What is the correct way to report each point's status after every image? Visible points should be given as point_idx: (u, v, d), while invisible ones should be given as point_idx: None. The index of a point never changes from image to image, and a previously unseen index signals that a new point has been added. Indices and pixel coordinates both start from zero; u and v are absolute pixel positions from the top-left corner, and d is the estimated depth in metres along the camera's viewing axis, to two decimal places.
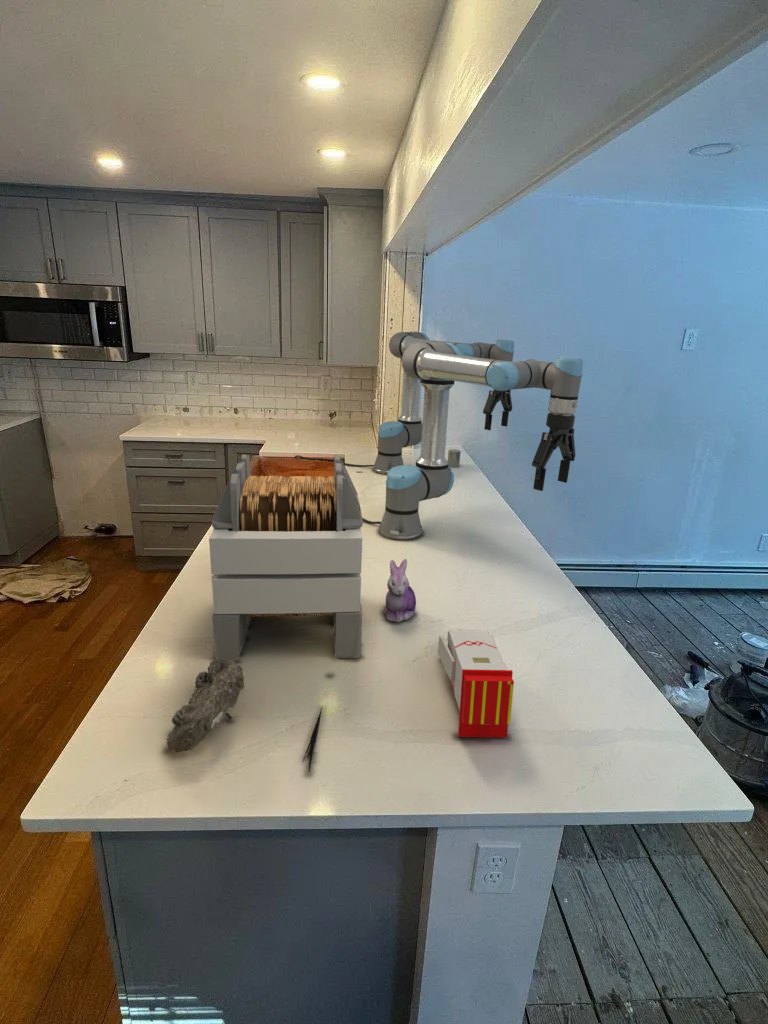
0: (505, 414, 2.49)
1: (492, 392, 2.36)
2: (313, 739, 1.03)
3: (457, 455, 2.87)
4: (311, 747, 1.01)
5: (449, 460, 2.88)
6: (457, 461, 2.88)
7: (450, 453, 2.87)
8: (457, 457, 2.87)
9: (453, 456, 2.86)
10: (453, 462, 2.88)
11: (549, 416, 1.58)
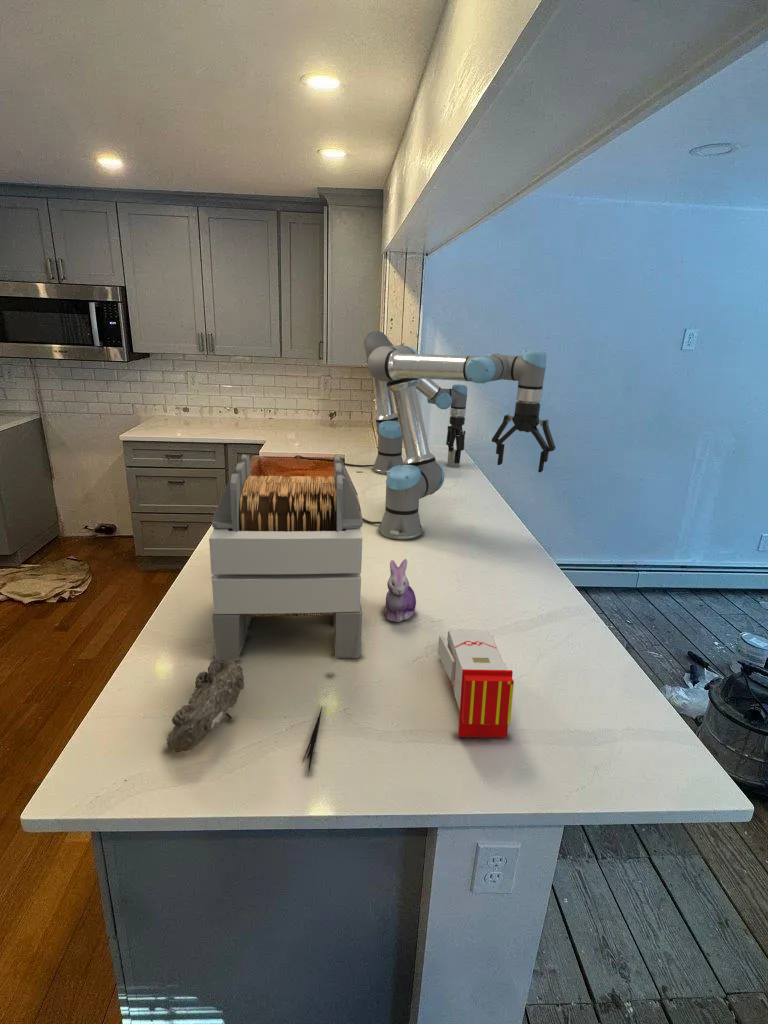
0: None
1: (464, 432, 2.80)
2: (313, 739, 1.03)
3: None
4: (311, 747, 1.01)
5: (449, 460, 2.88)
6: None
7: (450, 453, 2.87)
8: None
9: (453, 456, 2.86)
10: (453, 462, 2.88)
11: (536, 406, 1.74)
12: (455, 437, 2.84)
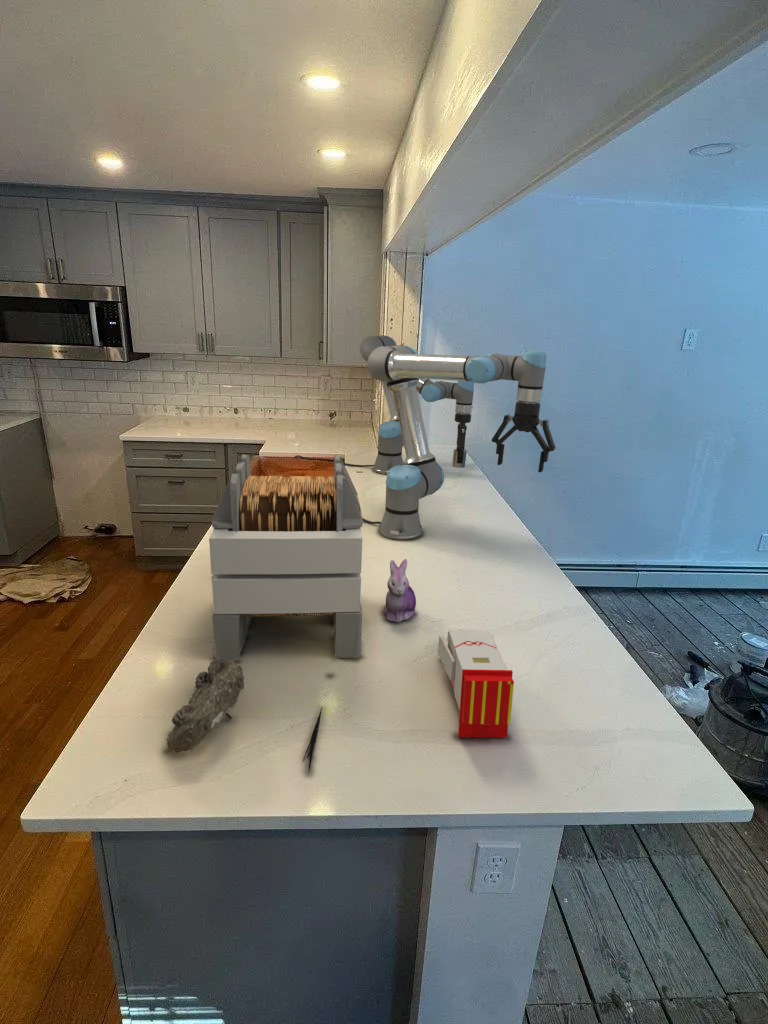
0: None
1: (464, 430, 2.60)
2: (313, 739, 1.03)
3: None
4: (311, 747, 1.01)
5: (453, 459, 2.71)
6: None
7: (454, 452, 2.69)
8: None
9: (456, 455, 2.68)
10: (456, 462, 2.69)
11: (536, 406, 1.74)
12: (459, 435, 2.65)
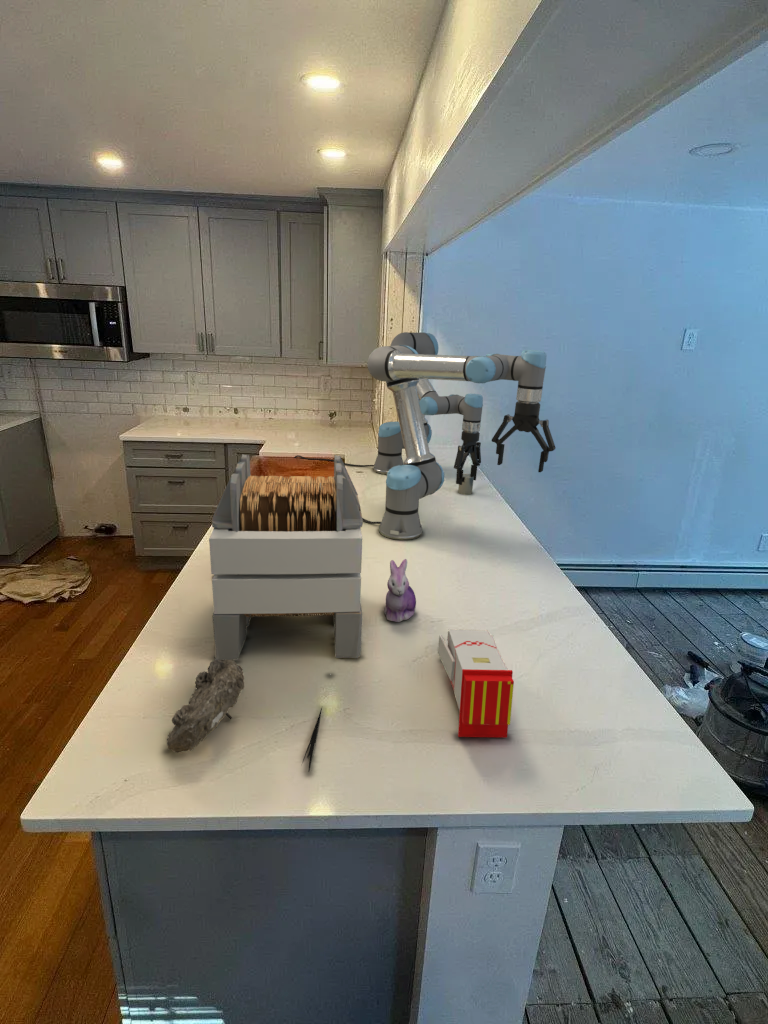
0: (473, 468, 2.48)
1: (461, 448, 2.36)
2: (313, 739, 1.03)
3: (462, 480, 2.44)
4: (311, 747, 1.01)
5: None
6: (462, 487, 2.45)
7: None
8: (462, 483, 2.45)
9: None
10: (459, 487, 2.47)
11: (536, 406, 1.74)
12: None
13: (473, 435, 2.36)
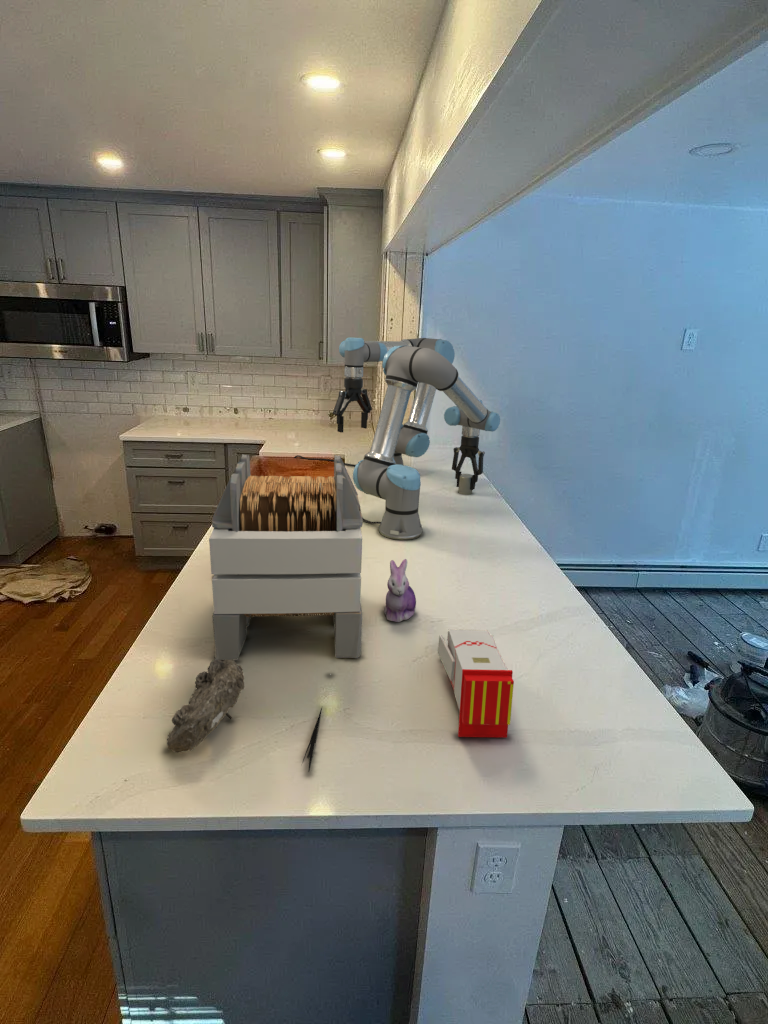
0: (364, 415, 2.38)
1: (341, 392, 2.25)
2: (313, 739, 1.03)
3: (462, 480, 2.44)
4: (311, 747, 1.01)
5: None
6: (462, 487, 2.45)
7: None
8: (462, 483, 2.45)
9: (459, 480, 2.46)
10: (459, 487, 2.47)
11: (475, 439, 2.37)
12: None
13: (354, 381, 2.25)
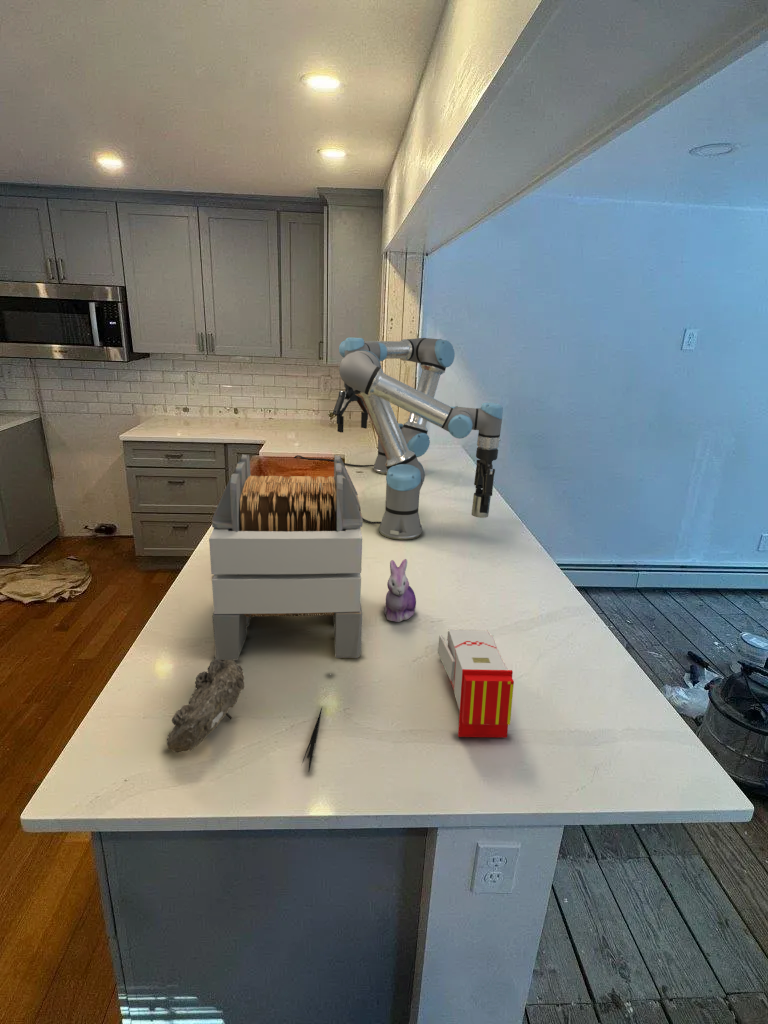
0: (364, 415, 2.38)
1: (341, 392, 2.25)
2: (313, 739, 1.03)
3: (473, 498, 2.06)
4: (311, 747, 1.01)
5: None
6: (472, 507, 2.07)
7: None
8: (473, 501, 2.07)
9: None
10: None
11: (485, 452, 1.97)
12: None
13: None
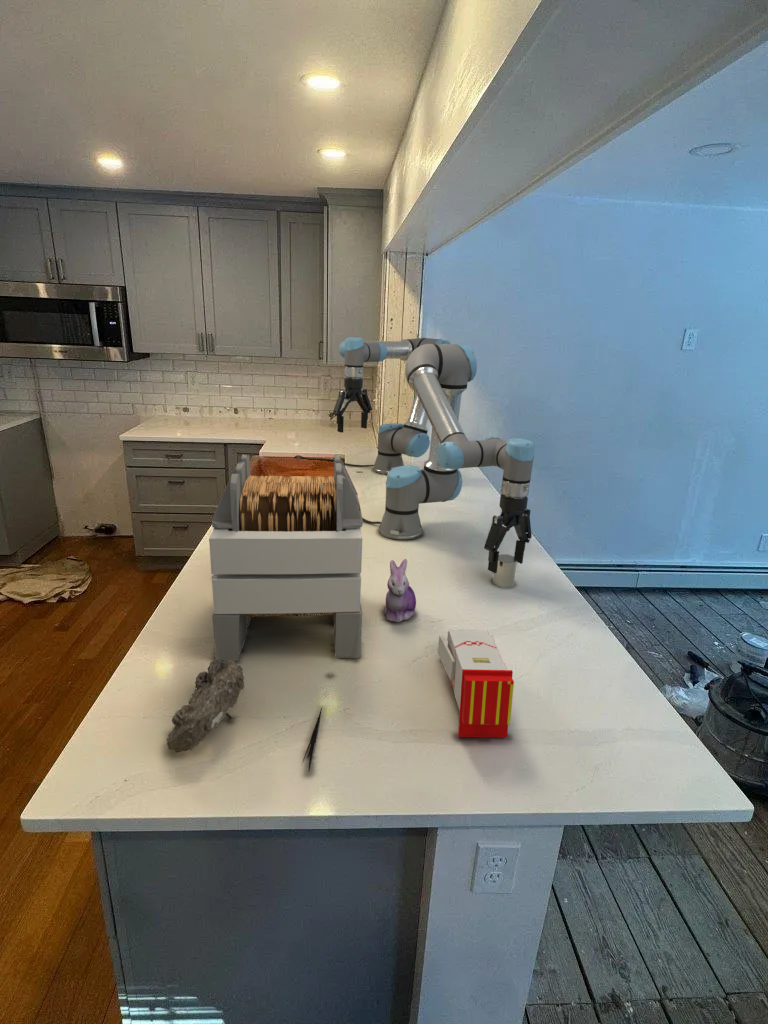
0: (364, 415, 2.38)
1: (341, 392, 2.25)
2: (313, 739, 1.03)
3: None
4: (311, 747, 1.01)
5: None
6: None
7: None
8: None
9: None
10: None
11: (501, 498, 1.58)
12: None
13: (354, 381, 2.25)
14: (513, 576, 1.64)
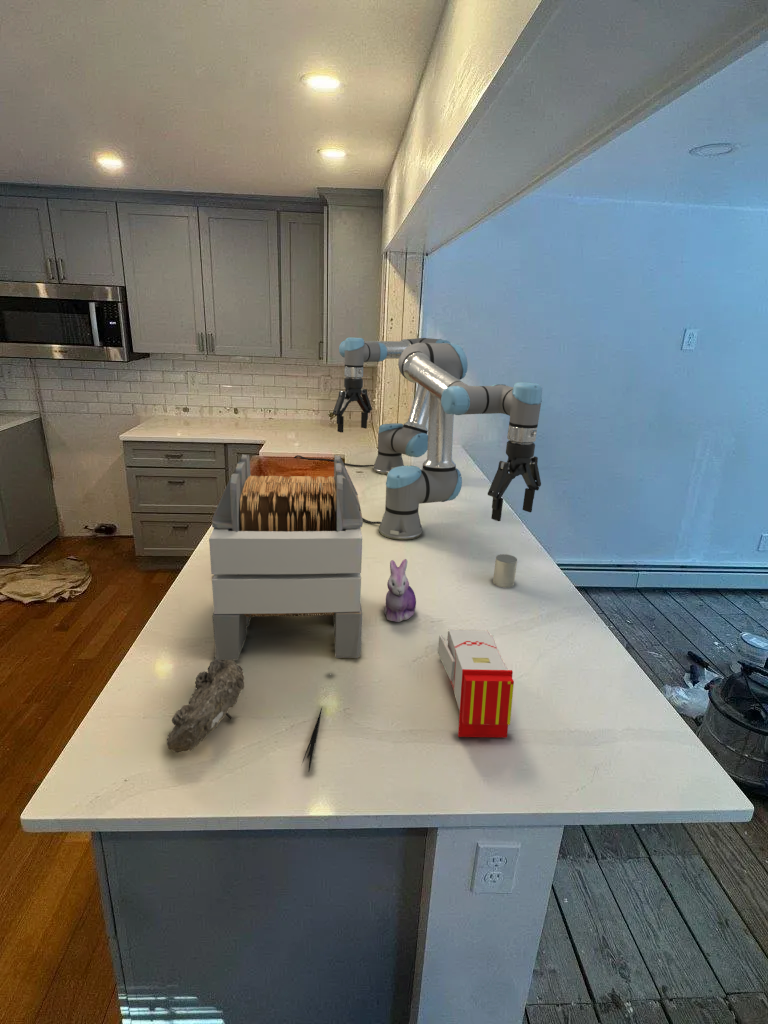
0: (364, 415, 2.38)
1: (341, 392, 2.25)
2: (313, 739, 1.03)
3: None
4: (311, 747, 1.01)
5: None
6: None
7: None
8: None
9: None
10: None
11: (507, 444, 1.52)
12: None
13: (354, 381, 2.25)
14: (513, 576, 1.64)
